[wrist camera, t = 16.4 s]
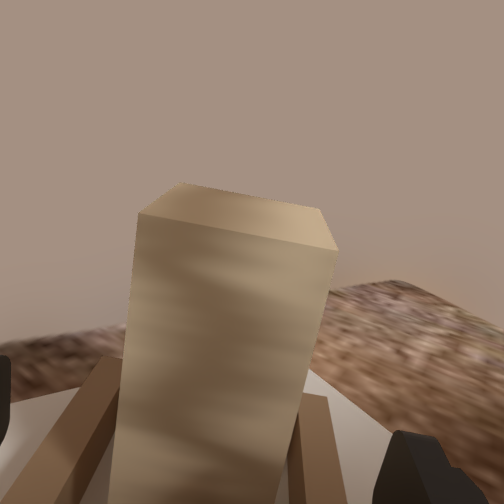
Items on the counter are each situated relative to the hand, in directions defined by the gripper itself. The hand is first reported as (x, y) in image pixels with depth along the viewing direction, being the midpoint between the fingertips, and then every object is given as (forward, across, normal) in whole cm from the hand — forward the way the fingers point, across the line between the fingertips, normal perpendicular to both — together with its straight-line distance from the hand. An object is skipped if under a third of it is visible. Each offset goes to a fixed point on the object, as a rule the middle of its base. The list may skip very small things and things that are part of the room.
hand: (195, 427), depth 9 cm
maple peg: (+5, 0, +8) cm, 10 cm away
